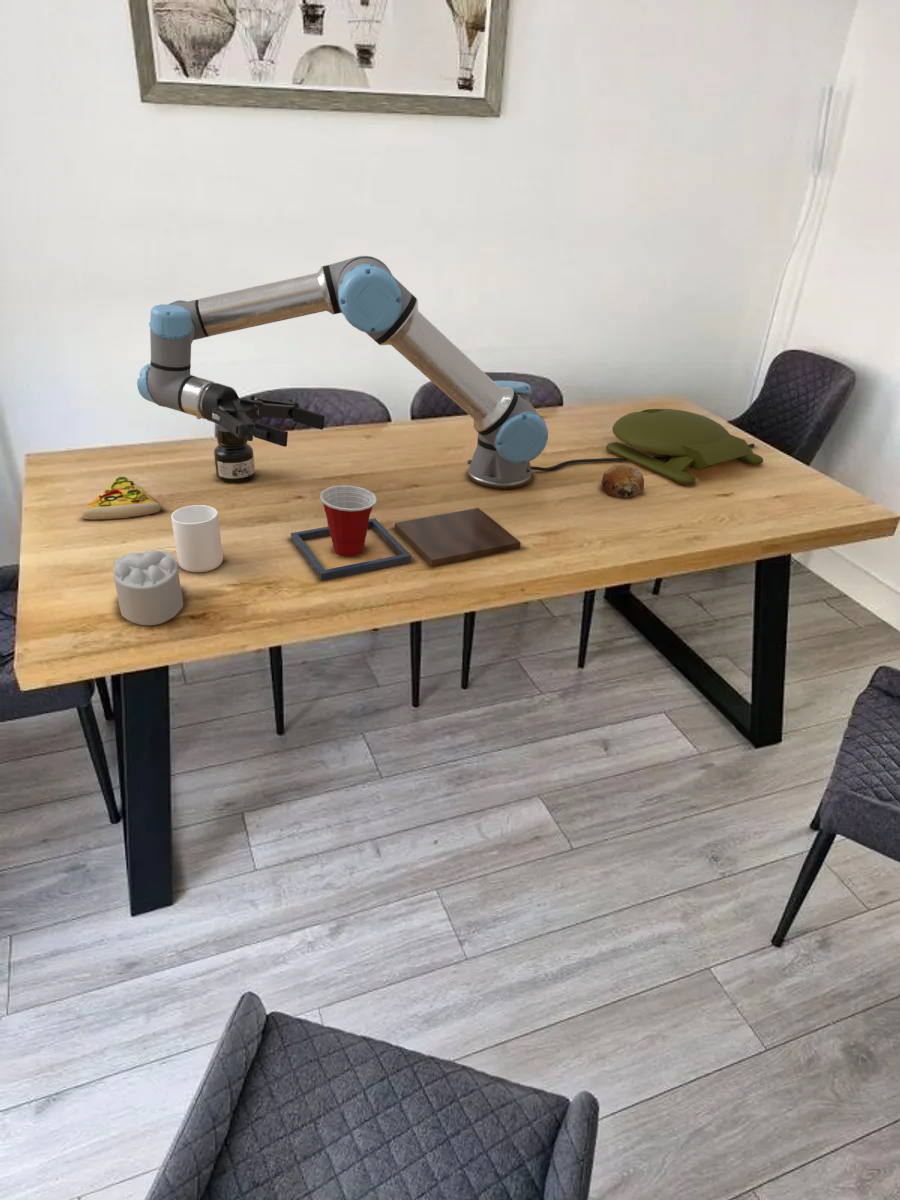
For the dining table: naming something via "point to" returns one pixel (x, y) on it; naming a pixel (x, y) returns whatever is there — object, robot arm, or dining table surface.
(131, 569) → the egg container
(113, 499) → the pizza slice
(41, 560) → the dining table surface
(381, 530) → the square frame
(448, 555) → the walnut board
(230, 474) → the ink bottle
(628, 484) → the bread roll
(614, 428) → the spaceship
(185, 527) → the mug
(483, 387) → the robot arm
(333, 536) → the plastic cup
